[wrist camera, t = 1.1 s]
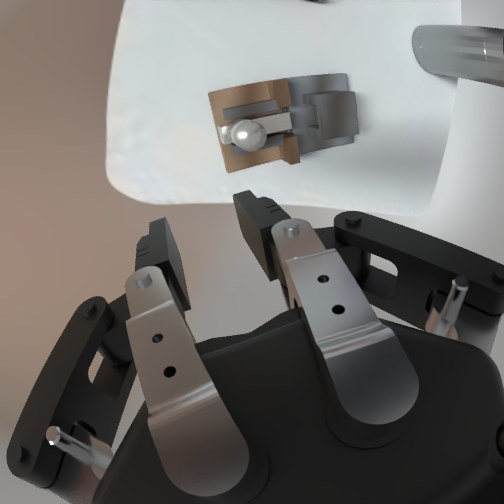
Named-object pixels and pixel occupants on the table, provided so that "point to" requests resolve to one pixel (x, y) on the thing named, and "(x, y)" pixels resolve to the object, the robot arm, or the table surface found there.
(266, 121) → the steel bolt
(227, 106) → the plate
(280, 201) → the table surface
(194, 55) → the table surface
